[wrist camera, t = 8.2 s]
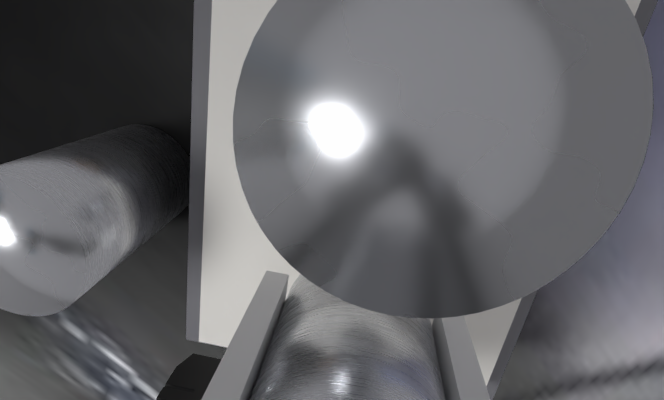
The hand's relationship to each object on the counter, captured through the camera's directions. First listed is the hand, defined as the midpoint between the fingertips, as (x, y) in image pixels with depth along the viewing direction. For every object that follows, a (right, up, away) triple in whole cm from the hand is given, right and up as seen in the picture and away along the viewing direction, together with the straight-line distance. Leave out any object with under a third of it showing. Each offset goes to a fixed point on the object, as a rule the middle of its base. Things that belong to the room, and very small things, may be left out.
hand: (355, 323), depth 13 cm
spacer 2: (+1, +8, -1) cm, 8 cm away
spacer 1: (-10, +5, +7) cm, 13 cm away
